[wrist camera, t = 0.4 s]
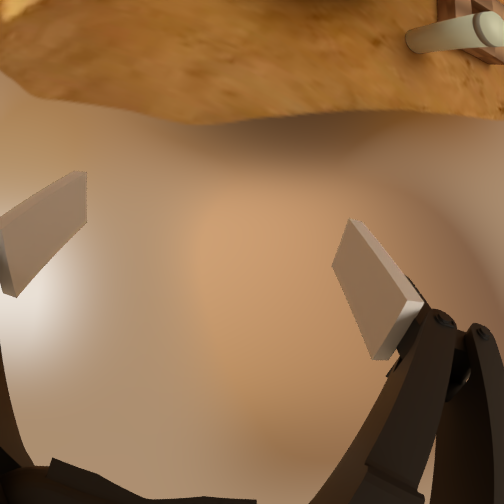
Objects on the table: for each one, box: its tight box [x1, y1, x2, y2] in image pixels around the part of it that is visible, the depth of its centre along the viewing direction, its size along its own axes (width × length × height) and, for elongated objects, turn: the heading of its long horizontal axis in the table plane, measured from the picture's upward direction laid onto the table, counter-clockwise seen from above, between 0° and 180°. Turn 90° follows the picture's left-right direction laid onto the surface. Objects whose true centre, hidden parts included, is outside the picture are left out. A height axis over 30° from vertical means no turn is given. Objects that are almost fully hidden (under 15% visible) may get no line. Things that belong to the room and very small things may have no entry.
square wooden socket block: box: [437, 0, 504, 65], centre depth 25 cm, size 12×12×5 cm
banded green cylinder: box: [405, 11, 504, 54], centre depth 23 cm, size 4×4×18 cm
